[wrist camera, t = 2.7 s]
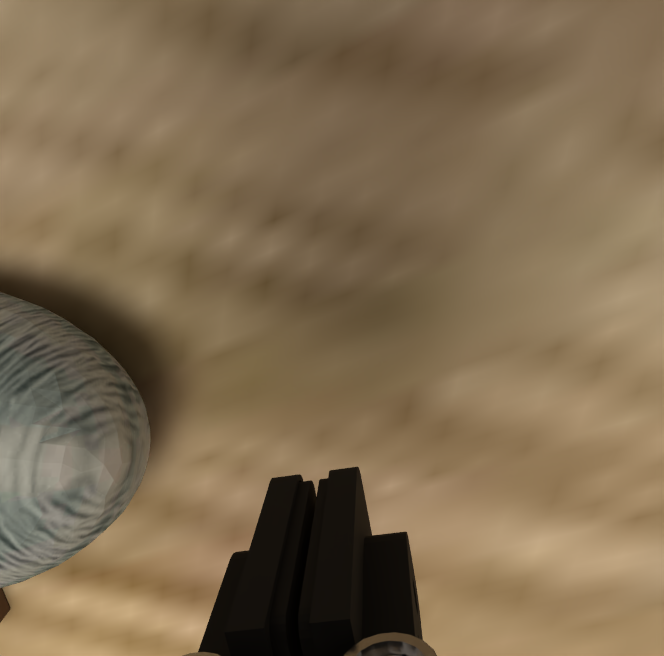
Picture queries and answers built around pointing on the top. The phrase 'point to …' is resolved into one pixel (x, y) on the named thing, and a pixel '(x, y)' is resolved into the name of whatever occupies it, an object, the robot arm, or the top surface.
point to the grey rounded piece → (61, 439)
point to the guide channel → (3, 605)
